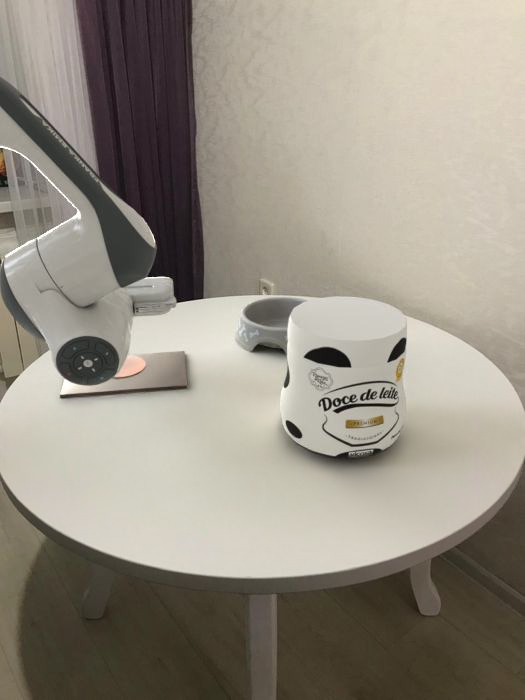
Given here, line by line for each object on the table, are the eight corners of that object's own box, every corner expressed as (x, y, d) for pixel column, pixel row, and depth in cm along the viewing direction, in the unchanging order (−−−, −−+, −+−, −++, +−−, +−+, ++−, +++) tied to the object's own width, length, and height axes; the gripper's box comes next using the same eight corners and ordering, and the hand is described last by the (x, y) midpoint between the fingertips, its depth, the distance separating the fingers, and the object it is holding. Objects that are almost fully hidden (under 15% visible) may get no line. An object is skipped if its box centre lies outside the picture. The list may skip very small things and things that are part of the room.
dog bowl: (318, 362, 104) (320, 334, 102) (222, 348, 109) (221, 322, 107) (337, 326, 119) (339, 301, 116) (251, 315, 124) (251, 291, 121)
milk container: (359, 488, 73) (370, 358, 65) (254, 437, 83) (253, 319, 75) (424, 429, 85) (440, 313, 77) (325, 391, 95) (331, 285, 87)
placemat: (60, 398, 93) (59, 394, 93) (71, 361, 104) (70, 357, 104) (187, 388, 96) (187, 384, 95) (184, 353, 107) (184, 350, 107)
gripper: (175, 286, 81) (173, 258, 93) (20, 294, 78) (39, 264, 91) (178, 328, 84) (176, 295, 96) (28, 337, 81) (46, 302, 93)
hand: (108, 280), depth 93 cm, fingers closed on can, 6 cm apart
